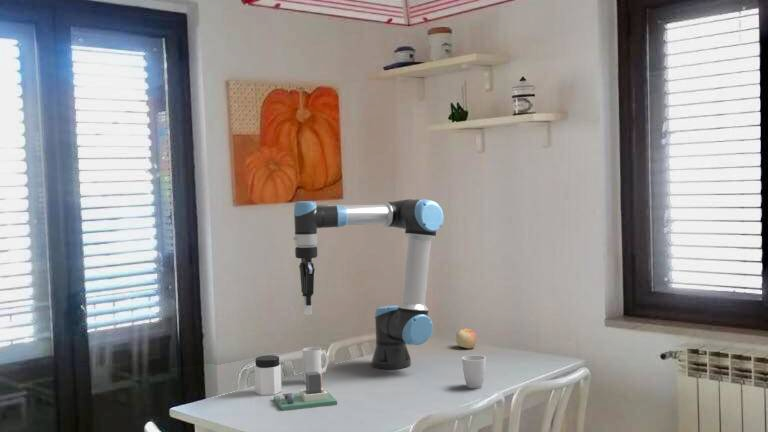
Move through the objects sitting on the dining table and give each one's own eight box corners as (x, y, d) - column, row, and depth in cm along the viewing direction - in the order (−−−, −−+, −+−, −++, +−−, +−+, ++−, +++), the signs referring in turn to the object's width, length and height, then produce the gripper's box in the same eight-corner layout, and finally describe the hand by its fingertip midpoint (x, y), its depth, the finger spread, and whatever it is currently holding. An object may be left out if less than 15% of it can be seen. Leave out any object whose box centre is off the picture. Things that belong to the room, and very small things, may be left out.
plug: (319, 395, 271) (319, 371, 270) (322, 398, 267) (322, 373, 267) (306, 396, 269) (305, 372, 269) (309, 399, 266) (308, 375, 265)
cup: (487, 384, 285) (487, 355, 284) (484, 390, 277) (483, 360, 276) (464, 382, 287) (464, 354, 286) (460, 388, 279) (460, 360, 279)
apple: (466, 345, 350) (465, 326, 350) (481, 348, 344) (481, 329, 343) (451, 348, 345) (451, 329, 344) (467, 351, 338) (466, 332, 338)
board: (326, 393, 277) (326, 383, 277) (337, 404, 263) (336, 393, 263) (273, 399, 271) (273, 388, 271) (282, 410, 258) (281, 399, 258)
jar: (265, 388, 286) (264, 354, 286) (285, 390, 283) (284, 355, 282) (251, 394, 278) (250, 359, 278) (271, 396, 275) (270, 361, 274)
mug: (309, 385, 288) (308, 351, 288) (299, 381, 294) (298, 348, 293) (333, 380, 294) (332, 347, 294) (323, 377, 300) (322, 344, 299)
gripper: (291, 245, 285) (293, 312, 286) (299, 248, 272) (301, 318, 273) (312, 244, 287) (314, 310, 288) (321, 247, 275) (323, 316, 276)
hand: (308, 314), depth 281 cm, fingers closed
